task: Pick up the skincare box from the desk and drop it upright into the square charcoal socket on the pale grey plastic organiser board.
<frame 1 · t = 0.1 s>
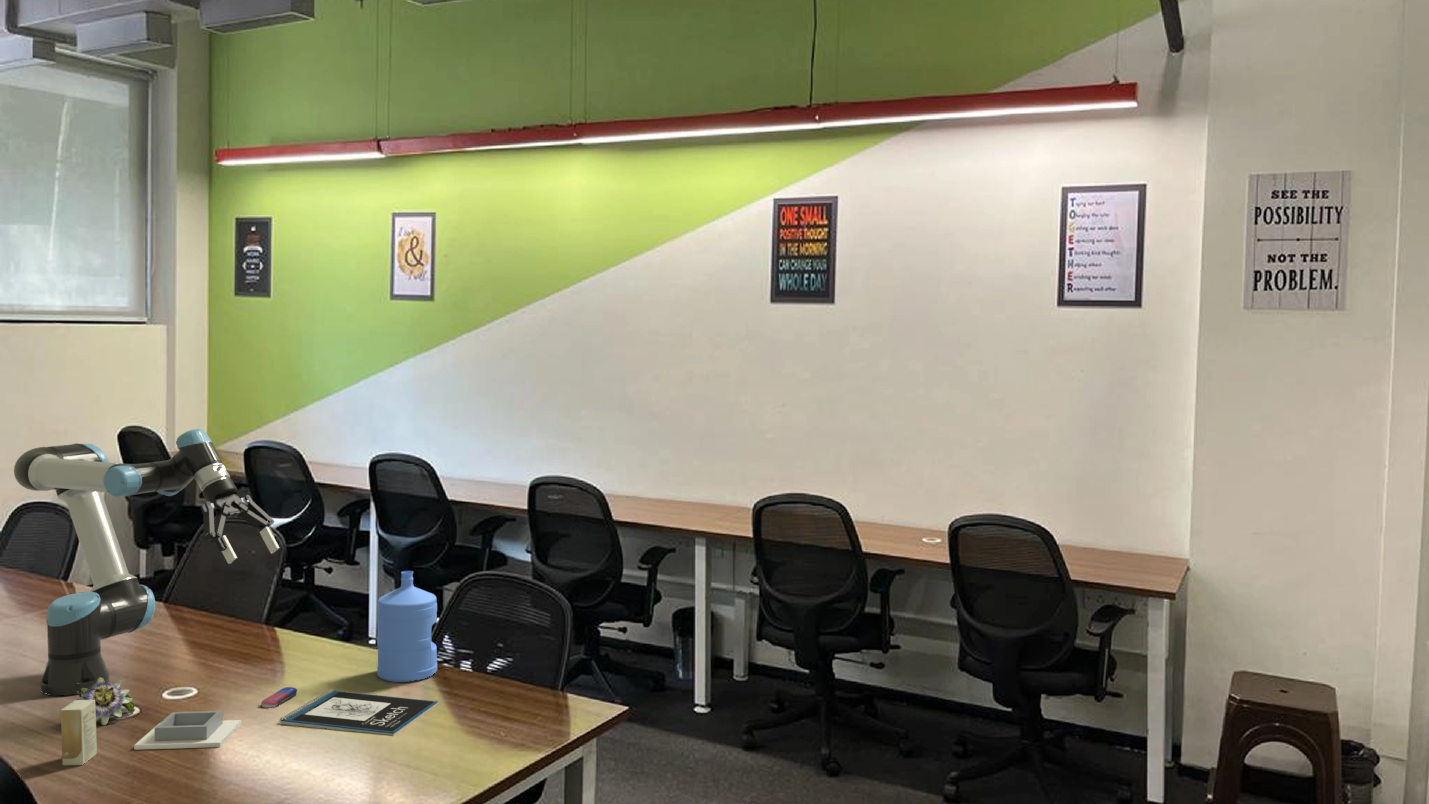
hand: (254, 555, 263), 36 cm above the table, tool tilted 35°, fingers open, 13 cm apart
socket board: (189, 736, 238), on the table
sketchbook: (360, 716, 254), on the table
eraser: (279, 702, 262), on the table
passion flower: (104, 720, 248), on the table
water jug: (407, 674, 284), on the table
skincare box: (79, 761, 224), on the table
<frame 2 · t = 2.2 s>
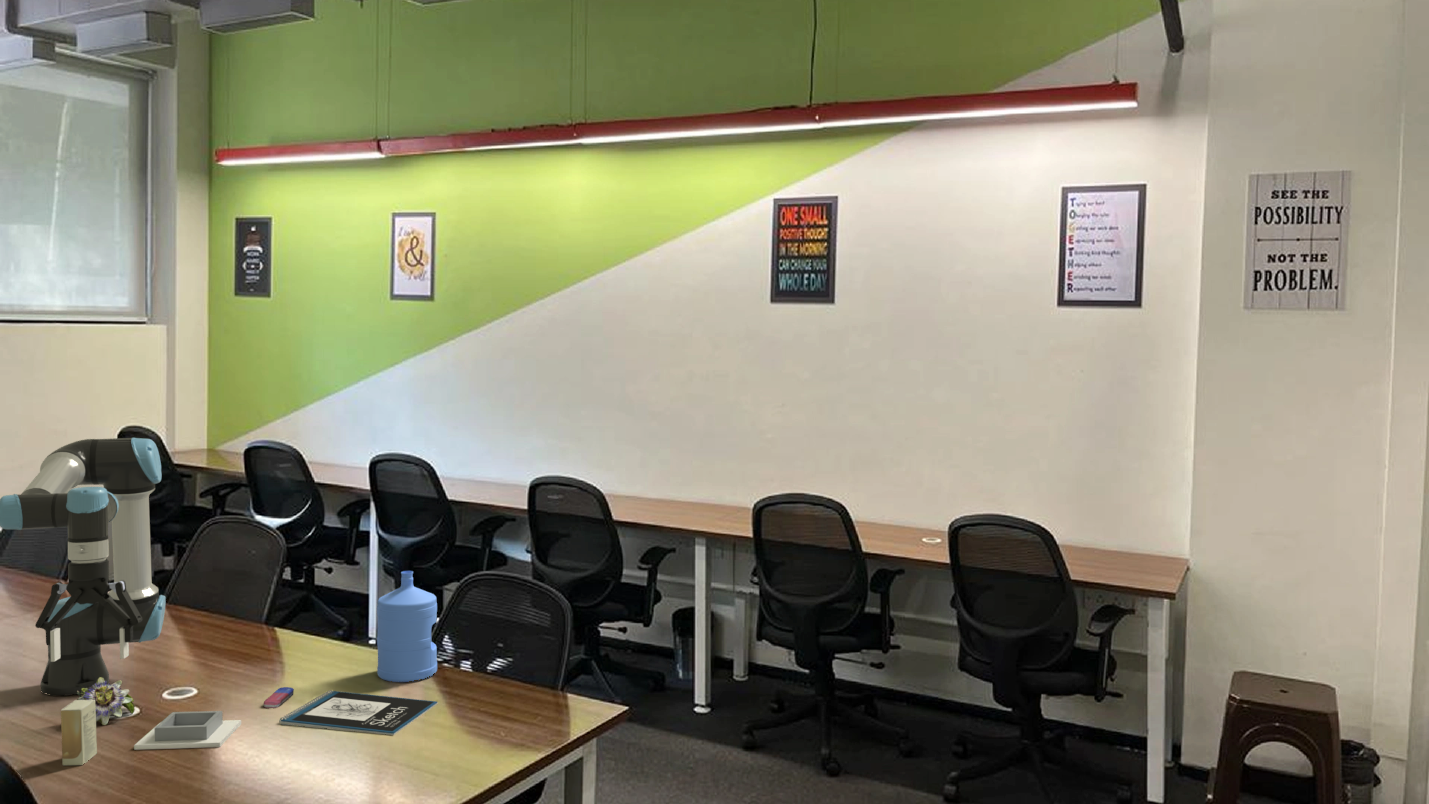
hand: (90, 658, 224), 22 cm above the table, tool pointing down, fingers open, 13 cm apart
nothing on the table moved.
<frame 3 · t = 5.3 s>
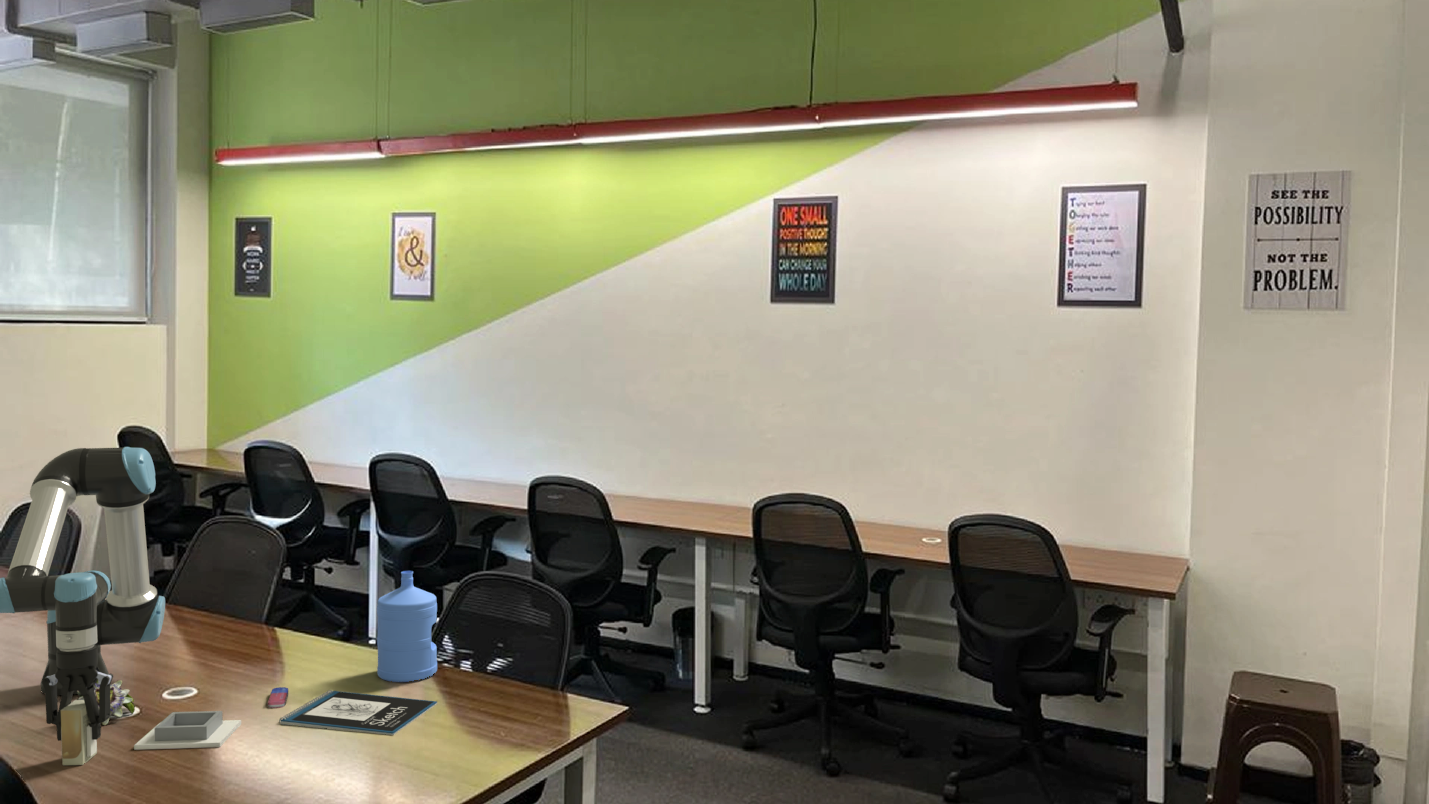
hand: (79, 754, 224), 1 cm above the table, tool pointing down, fingers closed on skincare box, 4 cm apart
skincare box: (79, 761, 224), on the table, touching gripper
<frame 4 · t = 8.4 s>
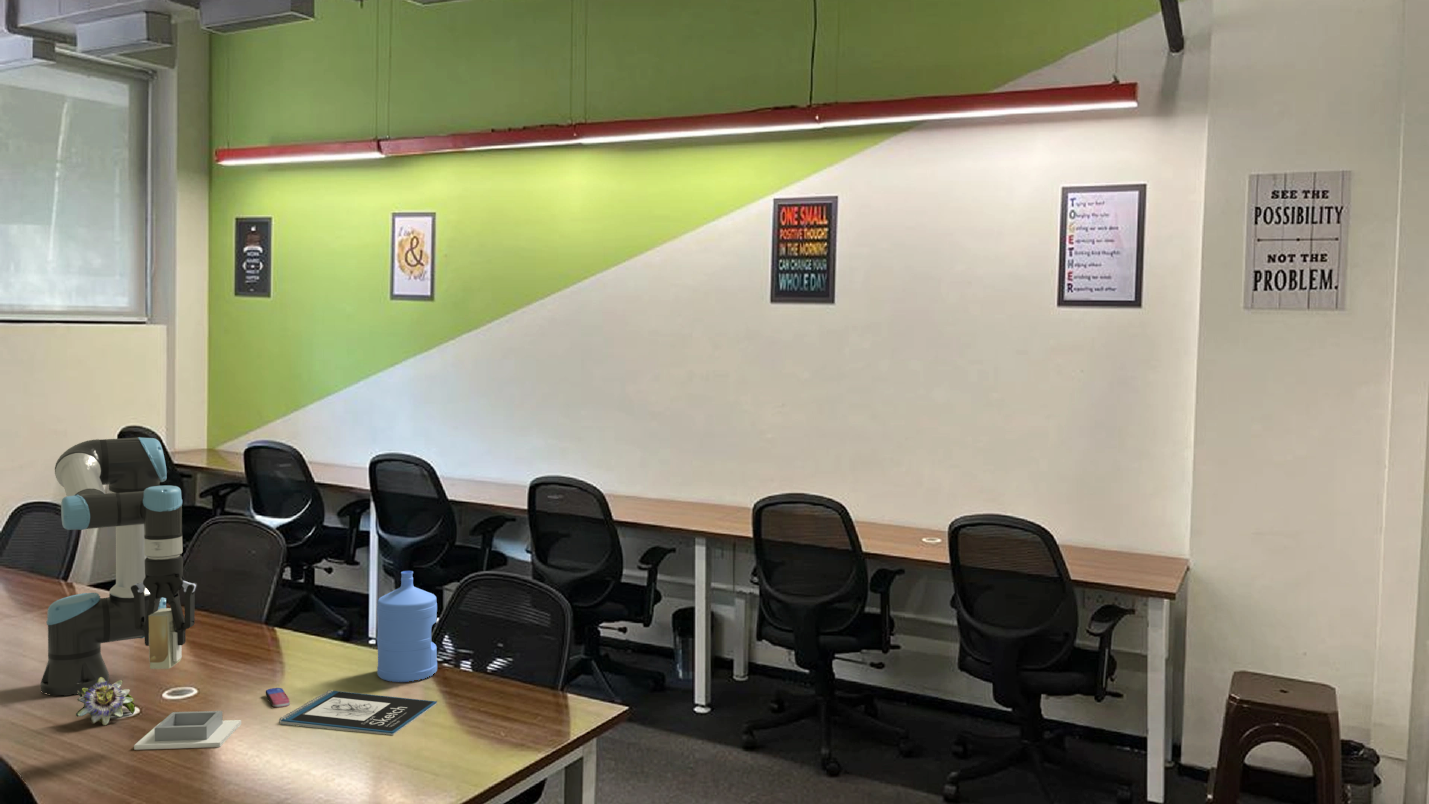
hand: (165, 659, 234), 19 cm above the table, tool pointing down, fingers closed on skincare box, 4 cm apart
skincare box: (165, 666, 234), point 17 cm above the table, touching gripper
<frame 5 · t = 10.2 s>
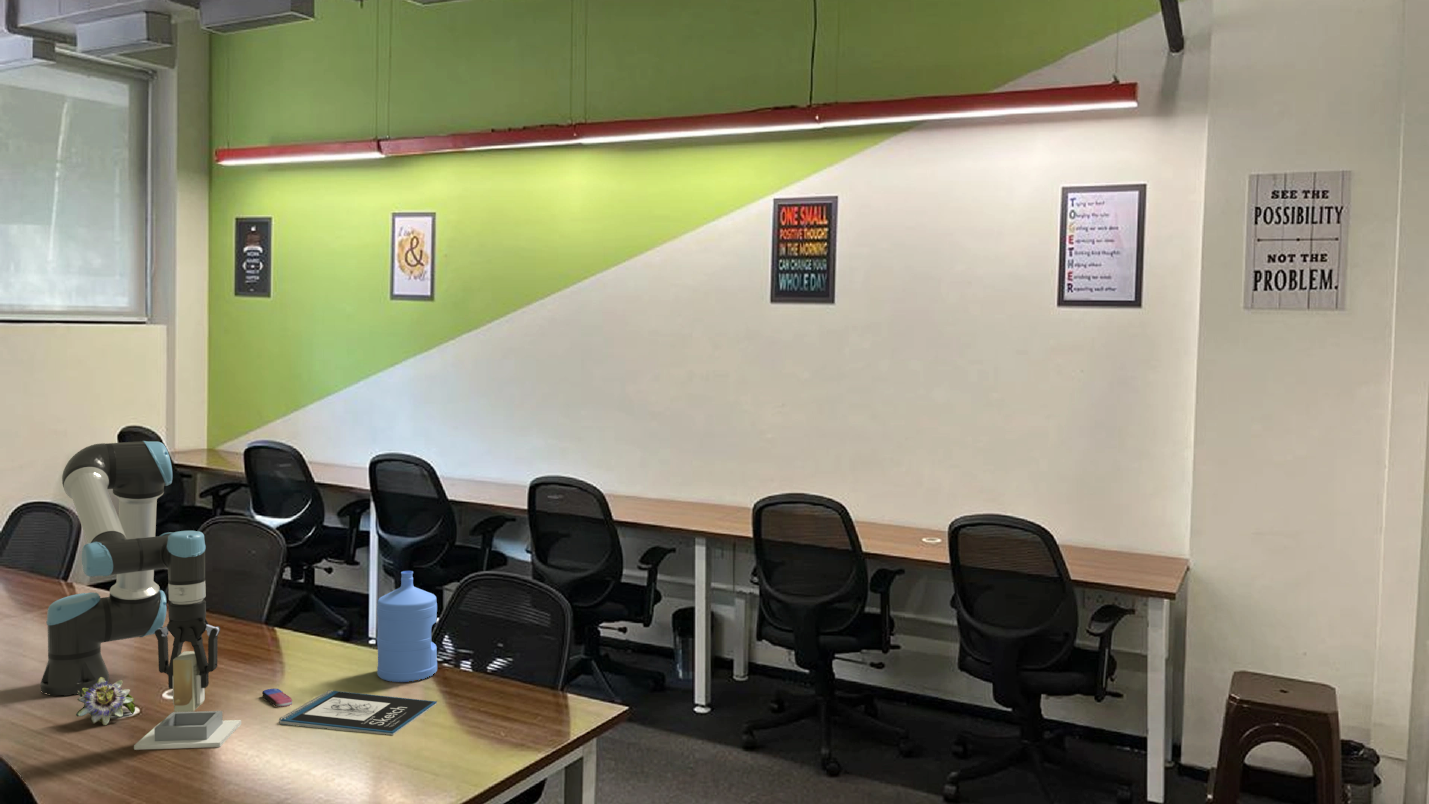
hand: (188, 701, 237), 8 cm above the table, tool pointing down, fingers closed on skincare box, 4 cm apart
skincare box: (189, 708, 237), point 6 cm above the table, touching gripper
when the fingers open (4 cm above the table, at t = 11.5 s): skincare box drops 2 cm, resting on socket board.
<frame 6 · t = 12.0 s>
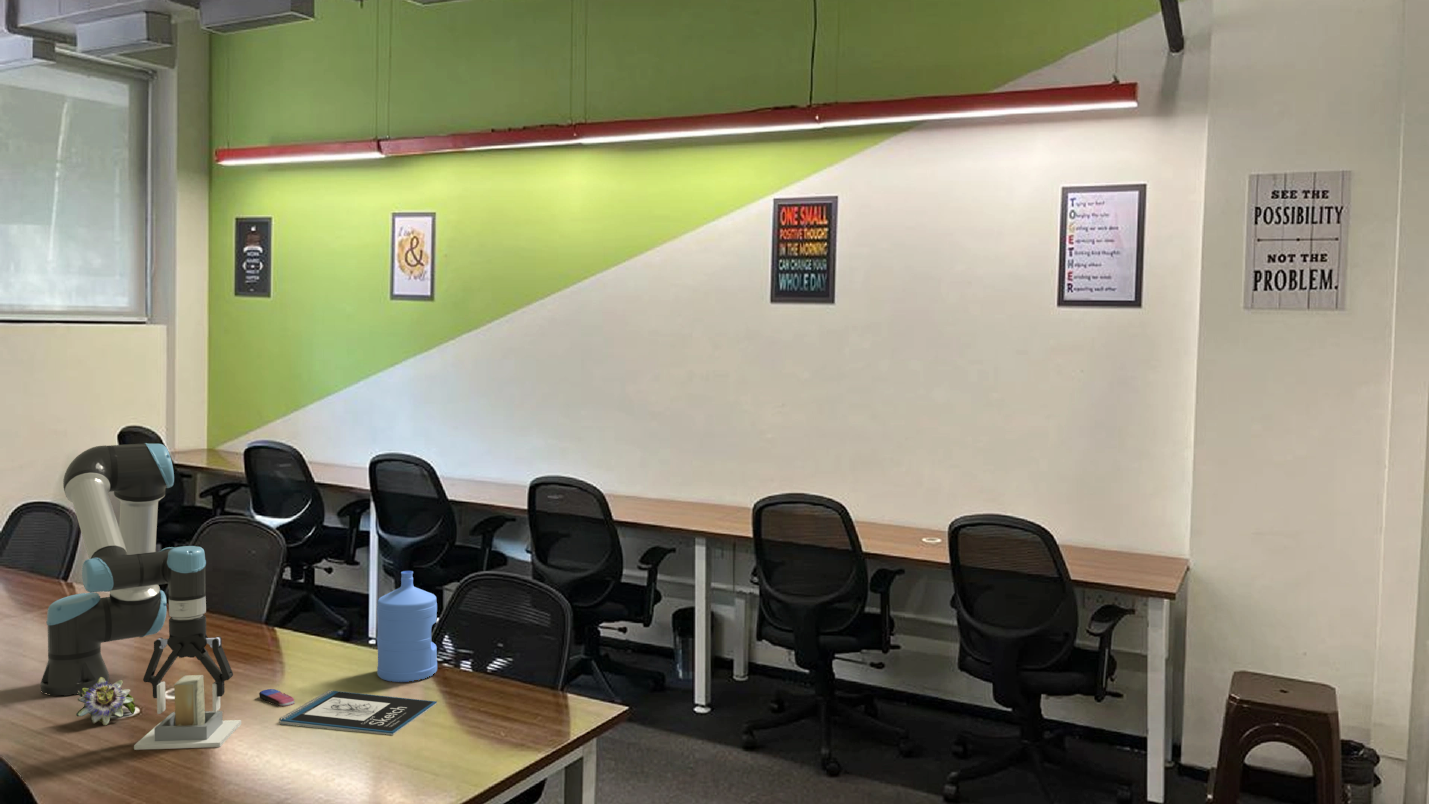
hand: (189, 711, 238), 6 cm above the table, tool pointing down, fingers open, 11 cm apart
skincare box: (190, 732, 238), point 1 cm above the table, touching socket board
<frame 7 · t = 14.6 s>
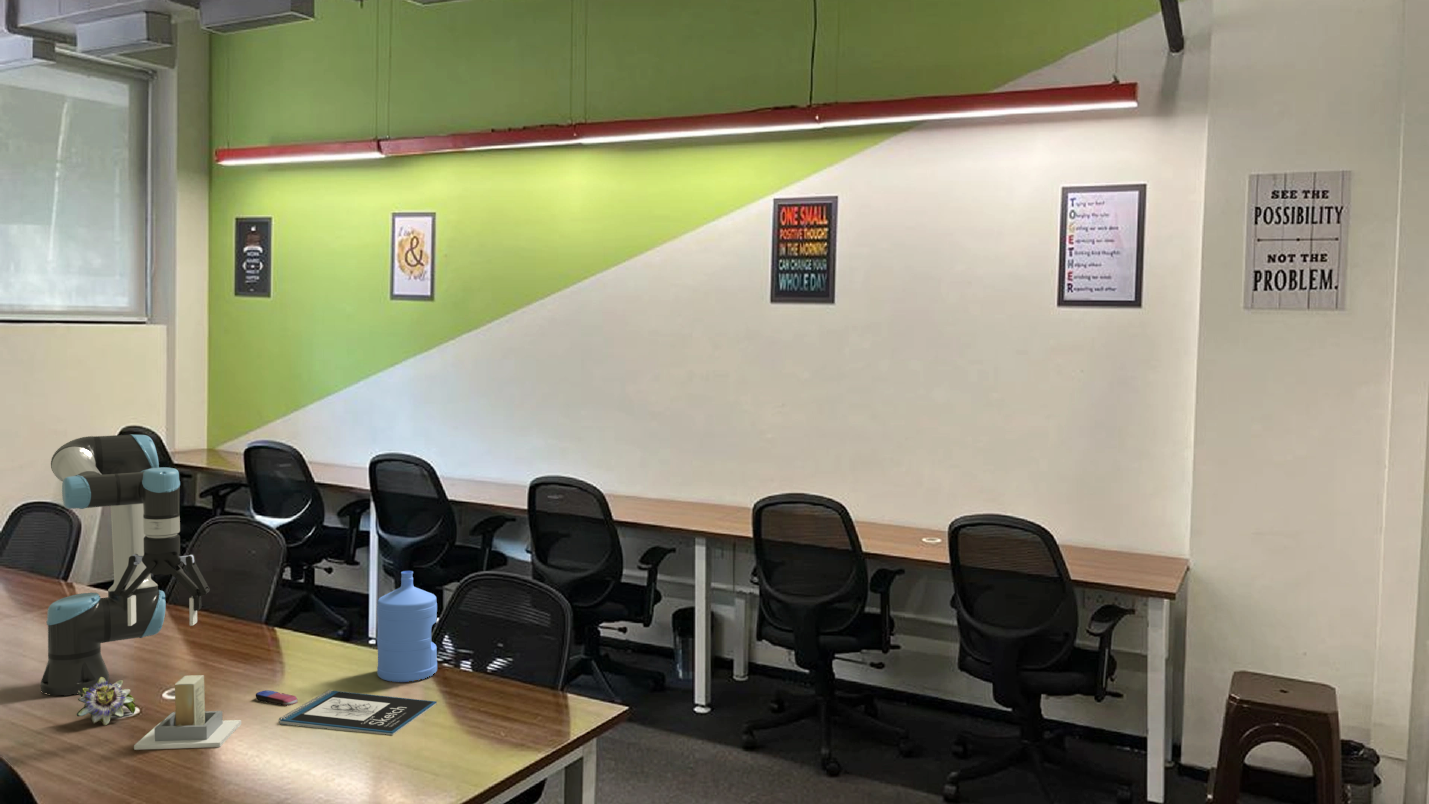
hand: (162, 624, 245), 23 cm above the table, tool pointing down, fingers open, 13 cm apart
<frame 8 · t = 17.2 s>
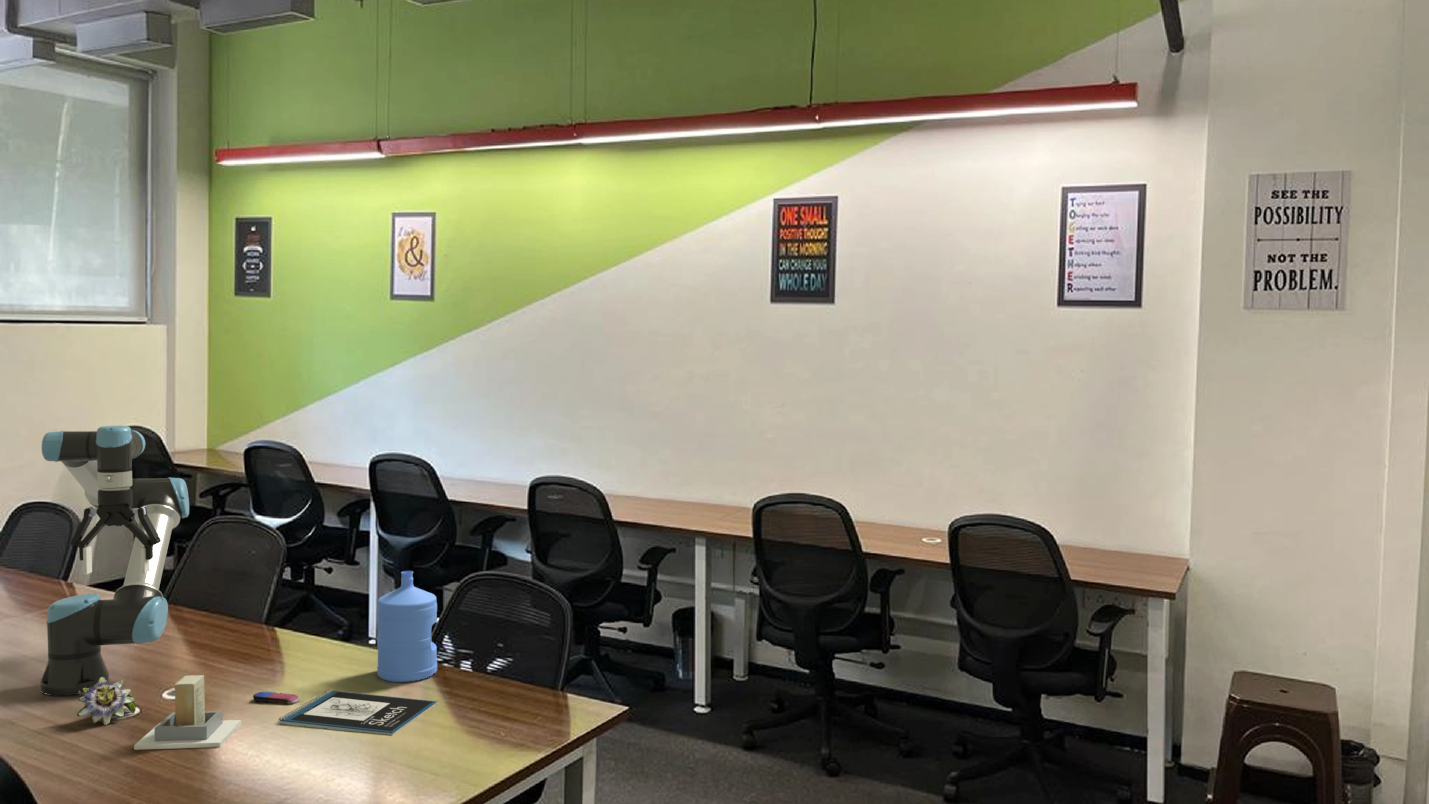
hand: (116, 573, 261), 32 cm above the table, tool pointing down, fingers open, 13 cm apart
at the end: skincare box 0.2 cm off-centre on the socket board, point 0.8 cm above the socket board's base; skincare box tilted 0°; the gripper is holding nothing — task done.
